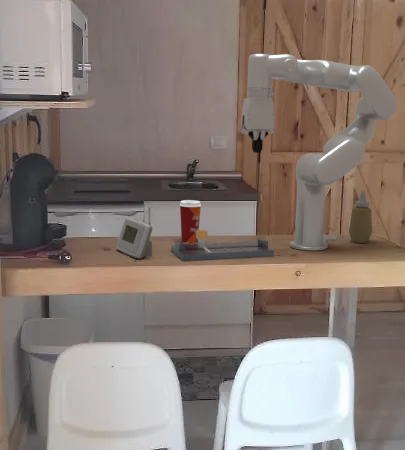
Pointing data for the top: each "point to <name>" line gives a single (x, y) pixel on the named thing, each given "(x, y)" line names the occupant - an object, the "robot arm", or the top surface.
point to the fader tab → (201, 237)
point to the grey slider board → (222, 250)
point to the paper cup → (189, 219)
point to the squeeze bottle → (361, 221)
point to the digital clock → (135, 239)
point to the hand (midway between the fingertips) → (257, 152)
